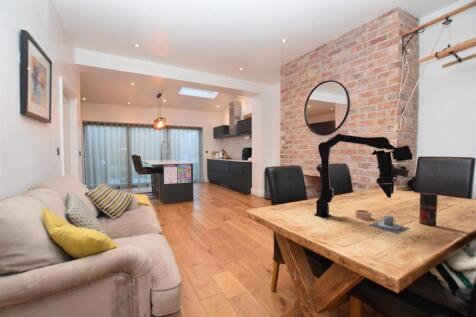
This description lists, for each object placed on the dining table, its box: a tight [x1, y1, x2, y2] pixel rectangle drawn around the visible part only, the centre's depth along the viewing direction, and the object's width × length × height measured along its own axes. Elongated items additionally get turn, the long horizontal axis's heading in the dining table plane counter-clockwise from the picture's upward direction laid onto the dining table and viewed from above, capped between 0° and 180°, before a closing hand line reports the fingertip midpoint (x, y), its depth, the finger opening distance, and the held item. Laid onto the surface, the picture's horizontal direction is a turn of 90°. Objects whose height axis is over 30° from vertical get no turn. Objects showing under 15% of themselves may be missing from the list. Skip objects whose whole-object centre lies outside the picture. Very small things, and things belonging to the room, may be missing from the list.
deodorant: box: [418, 192, 438, 227], centre depth 99 cm, size 6×6×15 cm
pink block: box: [354, 209, 372, 221], centre depth 109 cm, size 6×6×4 cm
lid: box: [376, 215, 401, 230], centre depth 96 cm, size 8×8×4 cm
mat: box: [367, 220, 411, 235], centre depth 96 cm, size 12×12×1 cm
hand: (390, 195), depth 101 cm, fingers open, 9 cm apart
